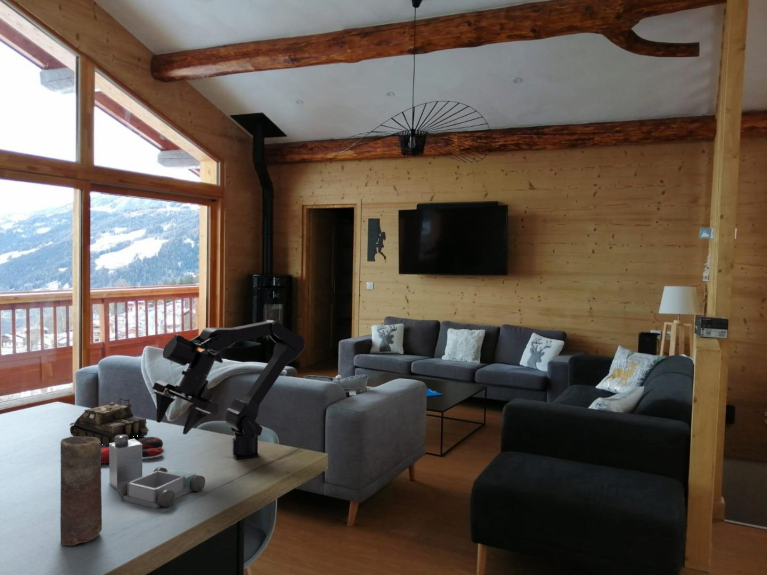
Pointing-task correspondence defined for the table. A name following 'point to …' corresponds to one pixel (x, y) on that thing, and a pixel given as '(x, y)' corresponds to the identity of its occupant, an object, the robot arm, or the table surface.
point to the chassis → (160, 487)
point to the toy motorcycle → (149, 448)
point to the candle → (80, 490)
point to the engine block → (124, 460)
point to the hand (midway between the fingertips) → (171, 428)
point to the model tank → (109, 423)
